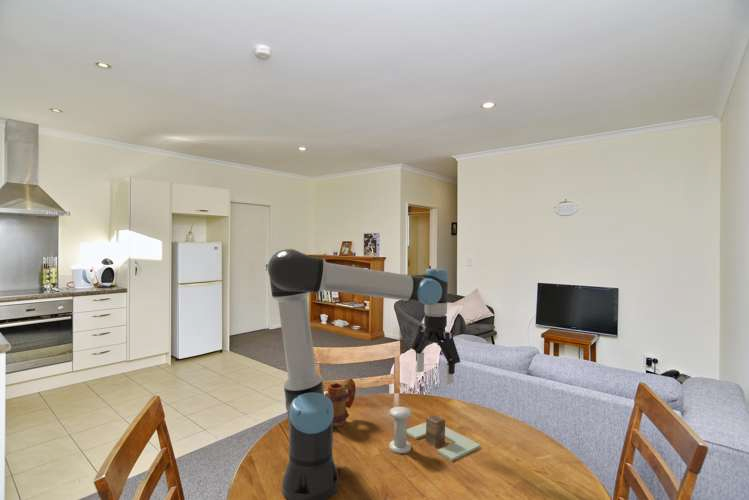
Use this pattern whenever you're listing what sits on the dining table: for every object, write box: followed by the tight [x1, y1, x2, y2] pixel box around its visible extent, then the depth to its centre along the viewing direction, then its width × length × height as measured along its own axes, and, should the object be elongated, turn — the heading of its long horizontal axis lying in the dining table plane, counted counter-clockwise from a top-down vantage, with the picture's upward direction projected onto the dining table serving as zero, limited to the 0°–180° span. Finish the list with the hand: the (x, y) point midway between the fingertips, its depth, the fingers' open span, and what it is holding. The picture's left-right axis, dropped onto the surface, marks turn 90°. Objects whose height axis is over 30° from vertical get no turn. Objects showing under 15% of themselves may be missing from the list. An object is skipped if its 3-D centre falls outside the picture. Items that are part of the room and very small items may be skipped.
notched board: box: [407, 421, 481, 462], centre depth 129 cm, size 14×22×1 cm, turn 37°
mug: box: [324, 377, 357, 427], centre depth 141 cm, size 15×8×15 cm, turn 143°
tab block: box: [425, 414, 446, 448], centre depth 127 cm, size 4×4×8 cm
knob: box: [388, 406, 413, 455], centre depth 123 cm, size 7×7×12 cm
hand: (434, 377), depth 127 cm, fingers open, 13 cm apart
